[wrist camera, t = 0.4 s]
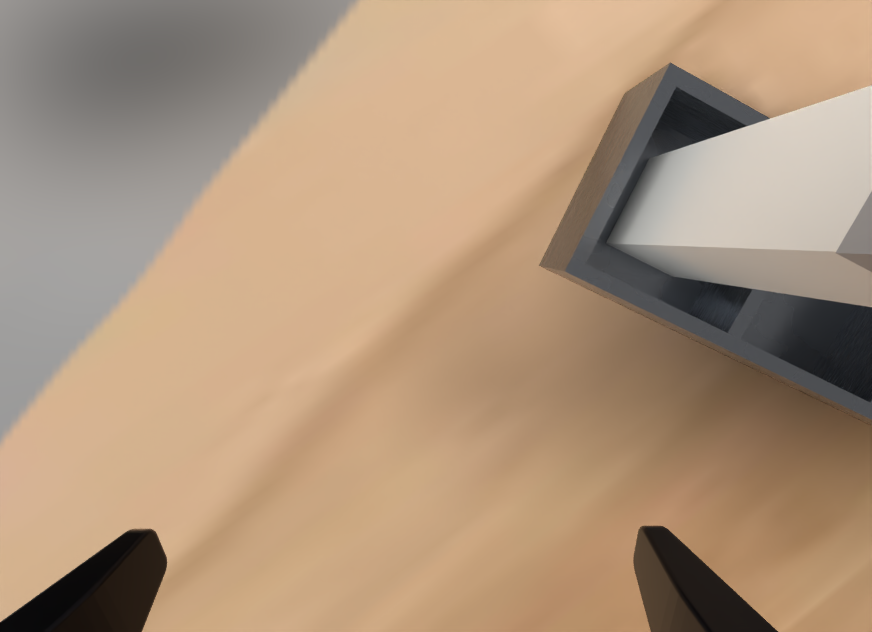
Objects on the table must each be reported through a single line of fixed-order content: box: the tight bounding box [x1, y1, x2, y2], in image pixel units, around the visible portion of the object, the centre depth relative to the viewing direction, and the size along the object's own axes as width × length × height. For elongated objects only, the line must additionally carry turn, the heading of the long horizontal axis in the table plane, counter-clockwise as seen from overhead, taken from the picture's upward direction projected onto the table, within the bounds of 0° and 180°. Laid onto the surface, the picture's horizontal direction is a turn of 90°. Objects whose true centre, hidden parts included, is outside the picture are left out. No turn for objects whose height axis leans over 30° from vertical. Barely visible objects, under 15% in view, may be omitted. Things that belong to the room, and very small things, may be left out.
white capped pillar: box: [606, 85, 872, 307], centre depth 14 cm, size 4×4×14 cm
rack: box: [539, 63, 872, 425], centre depth 20 cm, size 22×9×4 cm, turn 65°
